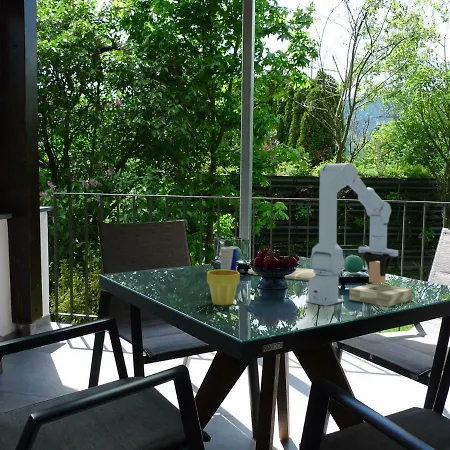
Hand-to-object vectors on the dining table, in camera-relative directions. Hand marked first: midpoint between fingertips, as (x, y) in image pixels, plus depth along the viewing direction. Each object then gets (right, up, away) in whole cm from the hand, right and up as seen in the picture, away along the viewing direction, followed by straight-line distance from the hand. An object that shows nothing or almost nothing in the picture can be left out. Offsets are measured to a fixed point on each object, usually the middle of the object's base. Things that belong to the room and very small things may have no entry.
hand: (377, 274), depth 194 cm
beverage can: (-51, -6, +3) cm, 52 cm away
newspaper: (-29, -3, +35) cm, 46 cm away
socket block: (-3, -7, -14) cm, 16 cm away
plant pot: (-53, -7, -18) cm, 57 cm away
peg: (0, -3, 0) cm, 2 cm away
